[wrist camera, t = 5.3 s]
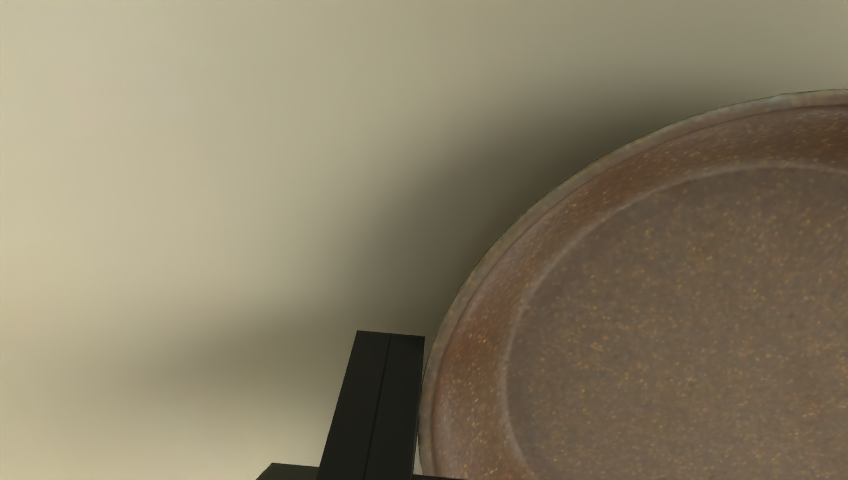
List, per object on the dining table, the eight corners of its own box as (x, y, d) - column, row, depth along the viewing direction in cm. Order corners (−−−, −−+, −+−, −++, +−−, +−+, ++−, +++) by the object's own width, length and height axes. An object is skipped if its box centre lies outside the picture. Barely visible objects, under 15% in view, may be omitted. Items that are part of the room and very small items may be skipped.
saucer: (368, 128, 14) (348, 168, 12) (1138, 2, 12) (1305, 16, 10) (470, 602, 20) (471, 694, 18) (1004, 563, 18) (1089, 660, 16)
